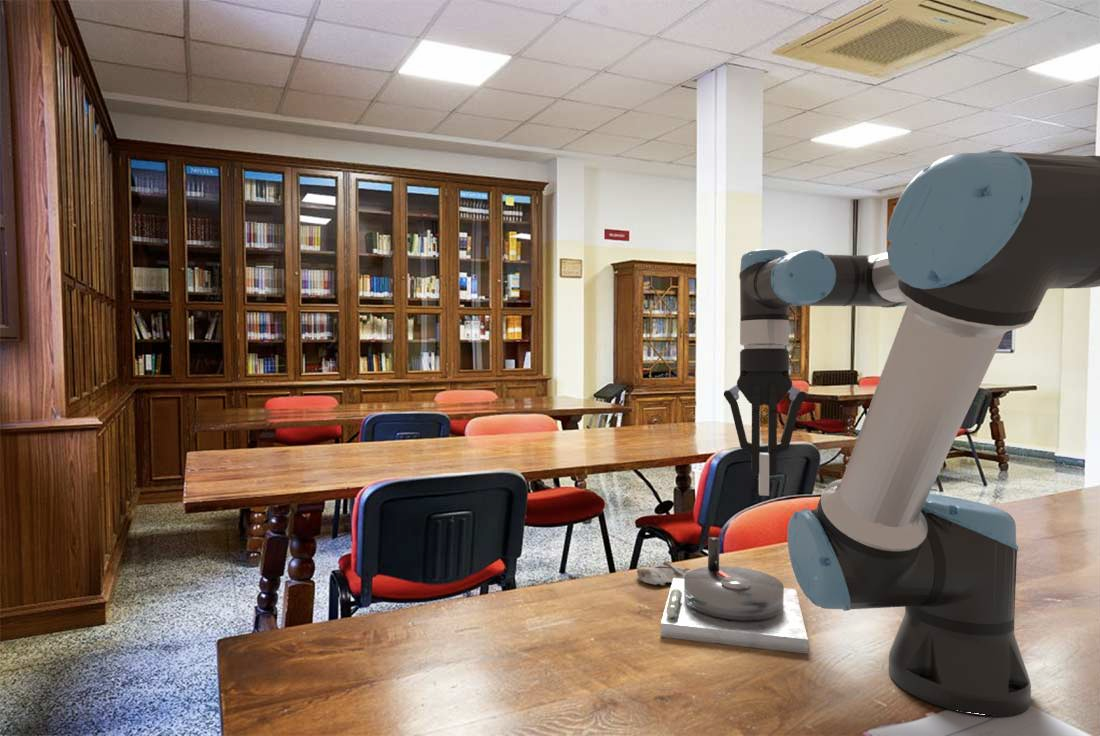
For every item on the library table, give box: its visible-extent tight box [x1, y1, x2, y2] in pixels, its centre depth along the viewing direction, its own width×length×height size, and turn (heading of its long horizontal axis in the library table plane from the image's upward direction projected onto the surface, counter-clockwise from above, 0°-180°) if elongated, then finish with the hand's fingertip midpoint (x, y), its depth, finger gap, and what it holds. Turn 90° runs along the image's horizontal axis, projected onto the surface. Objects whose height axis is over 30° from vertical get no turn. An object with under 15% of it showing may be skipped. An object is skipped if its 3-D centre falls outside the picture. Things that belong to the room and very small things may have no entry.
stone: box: [636, 561, 691, 586], centre depth 122 cm, size 10×7×3 cm
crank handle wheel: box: [684, 536, 785, 620], centre depth 106 cm, size 15×15×8 cm
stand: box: [660, 578, 809, 655], centre depth 105 cm, size 20×20×4 cm
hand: (763, 493), depth 109 cm, fingers closed
